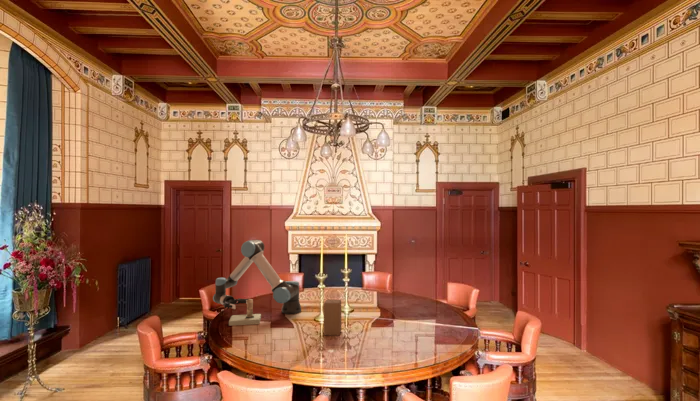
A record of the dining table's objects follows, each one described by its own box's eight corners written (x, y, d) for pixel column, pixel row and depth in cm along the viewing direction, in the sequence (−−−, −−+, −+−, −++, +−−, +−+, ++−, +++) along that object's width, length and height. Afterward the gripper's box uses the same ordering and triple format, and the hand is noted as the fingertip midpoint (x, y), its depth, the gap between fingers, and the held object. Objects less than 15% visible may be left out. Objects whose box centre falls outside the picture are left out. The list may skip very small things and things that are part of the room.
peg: (253, 320, 249) (253, 299, 249) (252, 322, 245) (252, 300, 245) (247, 320, 248) (247, 299, 248) (246, 322, 244) (246, 300, 244)
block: (341, 330, 226) (341, 299, 226) (339, 336, 216) (339, 303, 217) (326, 330, 227) (326, 299, 227) (323, 335, 217) (323, 302, 217)
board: (260, 317, 254) (260, 313, 254) (259, 323, 241) (259, 319, 241) (232, 319, 251) (232, 315, 251) (228, 325, 237) (228, 321, 237)
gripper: (241, 302, 274) (258, 306, 261) (211, 309, 255) (227, 314, 241) (241, 292, 274) (258, 296, 261) (211, 298, 255) (227, 303, 242)
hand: (243, 305), depth 251 cm, fingers open, 13 cm apart
